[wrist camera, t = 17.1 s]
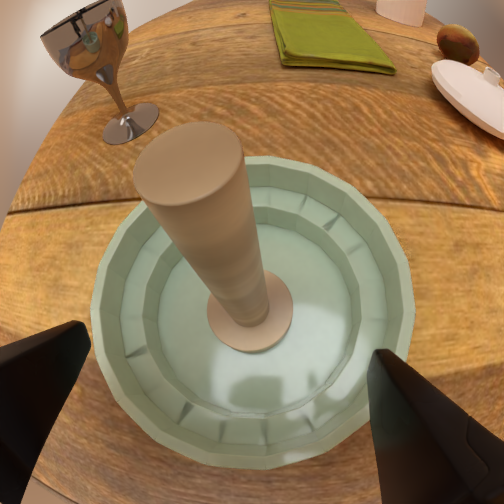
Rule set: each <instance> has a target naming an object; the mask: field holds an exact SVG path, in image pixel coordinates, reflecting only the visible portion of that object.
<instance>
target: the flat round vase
mask: <svg viewBox="0 0 504 504" xmlns="http://www.w3.org/2000/svg"><path fill="white" fill-rule="evenodd" d="M431 69H432V80H433V82H434V84H435V85H436V87H437V89H438V90H439V91H440V92H441V93H442V95H443V96H444V97H445V98H446V99H447V100H448V101H449V102H450V103H451V104H452V105H453V106H454V107H455V108H456V109H457V110H458V111H459V112H460V113H461V114H462V115H463V116H465V117H466V118H467V119H468V120H469V121H471V122H472V123H474V124H475V125H477V126H478V127H479V128H481V129H483V130H485V131H486V132H488V133H490V134H492V135H494V136H496V137H498V138H500V139H503V140H504V89H503V88H501V87H500V86H499V85H498V83H499V80H500V75H499V74H498V73H497V72H496V71H494V70H493V69H491V68H489V67H486V68H485V71H484V73H483V74H482V73H481V72H479V71H477V70H475V69H473V68H472V67H469V66H467V65H465V64H462V63H459V62H456V61H452V60H441V61H438V62H435V63H434V64H433V65H432V66H431Z"/></svg>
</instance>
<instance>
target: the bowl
mask: <svg viewBox="0 0 504 504" xmlns="http://www.w3.org/2000/svg"><path fill="white" fill-rule="evenodd" d="M244 158H245V164H246V170H247V175H248V181H249V187H250V193H251V199H252V204H253V210H254V216H255V222H256V228H257V234H258V240H259V246H260V252H261V258H262V264H263V269H264V270H267V271H269V272H271V273H273V274H275V275H276V276H278V277H279V278H280V279H281V280H282V281H283V282H284V283H285V284H286V286H287V288H288V289H289V291H290V294H291V297H292V300H293V317H292V322H291V325H290V328H289V330H288V332H287V334H286V336H285V337H284V338H283V339H282V340H281V341H280V342H279V343H278V344H277V345H276V346H274V347H273V348H271V349H269V350H266V351H264V352H260V353H243V352H240V351H237V350H234V349H232V348H231V347H229V346H227V345H226V344H224V343H223V342H222V341H220V340H219V339H218V338H217V337H216V335H215V334H214V333H213V331H212V329H211V327H210V325H209V322H208V318H207V303H208V299H209V296H210V293H211V292H210V290H209V289H208V288H207V286H206V285H205V284H204V283H203V281H202V280H201V279H200V277H199V276H198V275H197V274H196V272H195V271H194V270H193V268H192V267H191V266H190V264H189V263H188V262H187V260H186V259H185V258H184V256H183V255H182V254H181V252H180V251H179V250H178V248H177V247H176V246H175V244H174V243H173V242H172V240H171V239H170V238H169V236H168V235H167V233H166V232H165V231H164V229H163V228H162V226H161V225H160V224H159V222H158V221H157V220H156V218H155V217H154V215H153V214H152V212H151V211H150V210H149V208H148V207H147V205H146V204H145V202H144V201H143V200H142V201H141V202H140V203H139V204H138V206H137V207H136V208H135V209H134V210H133V211H132V212H131V213H130V214H129V215H128V216H127V217H126V218H125V220H124V221H123V222H122V223H121V224H120V226H119V227H118V228H117V230H116V232H115V234H114V236H113V238H112V240H111V242H110V243H109V245H108V247H107V249H106V251H105V253H104V255H103V257H102V259H101V261H100V263H99V266H98V270H97V275H96V280H95V285H94V290H93V295H92V301H91V307H90V315H91V325H92V334H93V342H94V350H95V356H96V360H97V362H98V364H99V366H100V369H101V371H102V373H103V375H104V378H105V380H106V382H107V384H108V386H109V388H110V390H111V392H112V394H113V396H114V398H115V400H116V402H118V404H119V406H120V407H121V408H122V409H123V410H124V411H125V412H126V413H127V414H128V415H129V416H130V417H131V418H132V419H133V420H134V421H135V422H136V423H137V424H138V425H139V426H140V427H141V428H142V429H143V430H144V431H145V432H146V433H147V434H148V435H149V436H150V437H151V438H152V439H153V440H155V441H156V442H157V443H159V444H161V445H163V446H165V447H167V448H169V449H171V450H173V451H175V452H177V453H180V454H182V455H184V456H186V457H188V458H190V459H193V460H195V461H197V462H200V463H202V464H204V465H208V466H215V467H225V468H236V469H250V470H266V469H267V470H270V469H274V468H278V467H282V466H285V465H289V464H292V463H296V462H299V461H303V460H306V459H309V458H312V457H315V456H318V455H321V454H324V453H325V452H328V451H329V450H331V449H332V448H333V447H335V446H336V445H338V444H339V443H340V442H342V441H343V440H345V439H346V438H347V437H349V436H350V435H351V434H353V433H354V432H355V431H356V430H358V429H359V428H360V427H362V426H363V425H364V424H365V423H366V422H368V421H369V420H370V414H369V400H368V387H367V370H368V366H369V363H370V360H371V356H372V353H373V351H374V350H375V349H382V348H388V349H390V350H391V351H392V352H393V353H395V354H396V355H397V356H398V357H400V358H401V359H402V360H403V361H404V362H406V360H407V356H408V351H409V347H410V342H411V337H412V332H413V327H414V321H415V315H416V314H415V313H416V309H415V301H414V293H413V286H412V280H411V273H410V268H409V263H408V260H407V258H406V256H405V254H404V252H403V250H402V248H401V246H400V244H399V242H398V240H397V238H396V236H395V234H394V232H393V230H392V228H391V226H390V225H389V223H388V221H387V219H385V217H384V216H383V215H382V214H381V213H380V212H379V211H378V210H377V209H376V208H375V207H374V206H373V205H372V204H371V203H370V202H369V201H368V200H367V199H366V198H365V197H364V196H363V195H362V194H361V193H360V192H359V191H358V190H357V189H356V188H355V187H353V186H352V185H350V184H349V183H347V182H345V181H343V180H341V179H339V178H338V177H336V176H334V175H332V174H330V173H328V172H326V171H324V170H322V169H320V168H318V167H317V166H313V165H311V164H307V163H302V162H298V161H294V160H289V159H284V158H279V157H275V156H248V157H244Z"/></svg>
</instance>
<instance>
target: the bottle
mask: <svg viewBox="0 0 504 504" xmlns="http://www.w3.org/2000/svg"><path fill="white" fill-rule="evenodd" d="M426 3H427V0H377V6H376V12H377V13H378V14H379V15H381V16H383V17H385V18H388V19H390V20H393V21H396V22H399V23H402V24H405V25H409V26H414V27H421V26H422V22H423V18H424V13H425V8H426Z"/></svg>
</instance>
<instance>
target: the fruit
mask: <svg viewBox="0 0 504 504" xmlns="http://www.w3.org/2000/svg"><path fill="white" fill-rule="evenodd" d="M437 43H438V46H439V49H440V50H441V52H442V54H443V55H444V56H445V57H447V58H448V59H449V60H452V61H456V62H459V63H462V64H465V65H467V66H469V65H471V64H474V63H475V62H476V61H477V60H478V58H479V45H478V43H477V41H476V39H475V37H474V36H473V35H472V33H471V32H470V31H469V30H467V29H466V28H464V27H462V26H460V25H456V24H449V25H445V26H443V27H442V28H441V29H440V31H439V32H438V35H437Z"/></svg>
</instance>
